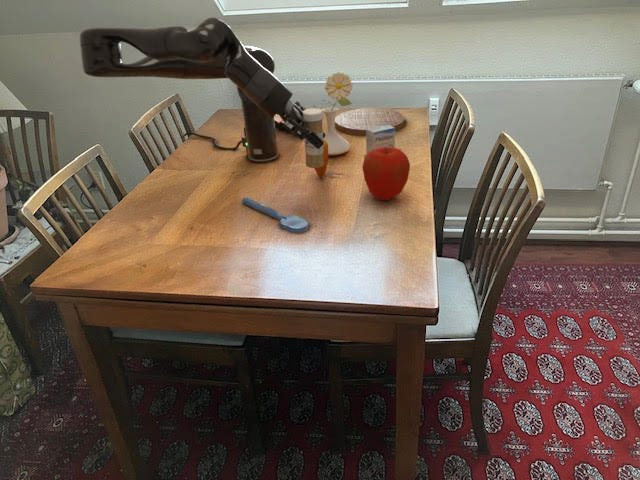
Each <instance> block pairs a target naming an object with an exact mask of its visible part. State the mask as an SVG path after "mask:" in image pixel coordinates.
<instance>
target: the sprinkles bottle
mask: <svg viewBox="0 0 640 480" xmlns="http://www.w3.org/2000/svg"><path fill="white" fill-rule="evenodd" d="M317 108H318V107H317ZM317 108H311V107H309V109H306V110H304V111H303V118H304V119H305V121H306V122H307V126H308V127H309V128H310V129H311V130H312V132H314V133H315V134H316V135H317V136H318V137H319V138H321V139H322V140H323V132H324V129H323V119H324V118H323V117H324V115H323V111H322V110H323V109H321V108H318V109H317ZM322 129H323V130H322ZM304 148H305V149H304V152H305V166H306V167H307V168H311V169H315V168H319V167H321V166H323V165H324V158H323V151H324V150H323V145H322V146H321V147H320V148H319V149H317V148H316V147H314V146H313V145H312V144H311V143H310V142H309V141H308V140H307V139H304Z"/></svg>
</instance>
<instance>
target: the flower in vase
mask: <svg viewBox="0 0 640 480" xmlns="http://www.w3.org/2000/svg"><path fill="white" fill-rule="evenodd" d="M353 85H354V83H353V82H352V79H351V77H350V76H349V75H348V74H345V73H344V72H342V73H341V72H339V71H338V72H336V73H333V74H332V75H330V76H328V77H327V79H326V82H325V85H324V90H326V91H325V92H326V94H327V97H330V98H331V99H333V100H334V99H335V100H336V101H335V103H334V104H333V103H332V102H330V101H327V100H325V99H323V102H325V103H327V104H330V105H332V106H327V107H324V108H323V109H321V110H322V113H324V114H325V118H326V124H327V132H326V133H325V134H326V136H325V138H324V140H326V142H327V143H328V156H338V155H342V154H345V153H347V152H348V151H349V150H350V149H351V144H350V143H349V142H348V141H347V140H346V139H345V137H342V136H341V135H340V134H338V133H337V131H336V126H335V118H336V117H337V113H338V112H339V110H340V109H339V108H338V107H335V106H336V104H337V103H339V105H340V106H341V107H347V106H350V105H352V104H353V103H352V102H351V101H350V100H349V99H348V98H347V97H349V96H350V95H351V91H352V90H353V89H352V88H353Z"/></svg>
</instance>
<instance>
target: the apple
mask: <svg viewBox="0 0 640 480" xmlns="http://www.w3.org/2000/svg"><path fill="white" fill-rule="evenodd" d="M361 168H362V173H363V177H364V181H365V184H366V187H367V189H368V192H369V193H370V194H371V195H372V196H373V197H374V198H376V199H377V200H379V201H390V200H392V199H394V198H395V197H397V196H398V195H400V194H401V193H402V192H403V190H404V188H405V187H406V184H407V183H408V180H409V175H410V168H411V164H410V160H409V158H408V156H407V155H406V153H405V152H404V151H402V150H401V149H399V148H397V147H395V148H393V147H382V148H377V149H373V150H371V151H370V152H369V153H368V154H367V155H366V154H365V155H364V160H363V162H362V167H361Z"/></svg>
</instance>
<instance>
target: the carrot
mask: <svg viewBox="0 0 640 480" xmlns="http://www.w3.org/2000/svg"><path fill="white" fill-rule="evenodd" d="M322 130H323V131H324V129H323V128H322ZM323 141H324V144H323V150H324V151H323V158H324V165H323V166H321V167H319V168H314V171H315V173H316V174H317V176H318V178H319V179H322V178H324V176H325V174H326V171H327V168H328V163H329V155H328V143H327V142H326V140H324V139H323Z"/></svg>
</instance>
